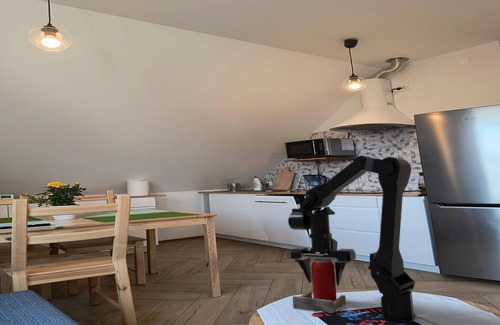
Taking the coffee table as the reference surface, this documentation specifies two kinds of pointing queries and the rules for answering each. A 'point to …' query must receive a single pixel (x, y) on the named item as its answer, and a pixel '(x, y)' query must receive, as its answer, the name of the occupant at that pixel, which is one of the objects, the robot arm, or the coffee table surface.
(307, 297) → the guide channel
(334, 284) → the beverage can
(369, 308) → the coffee table surface
